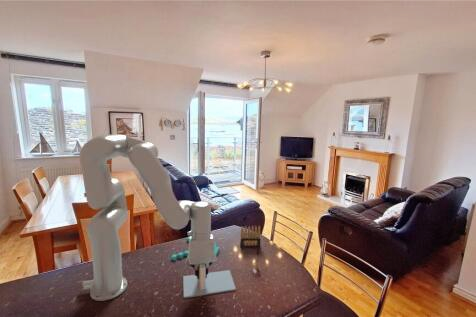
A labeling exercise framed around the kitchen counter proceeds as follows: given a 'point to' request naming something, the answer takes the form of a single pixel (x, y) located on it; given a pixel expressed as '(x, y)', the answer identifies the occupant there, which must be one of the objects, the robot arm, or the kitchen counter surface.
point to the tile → (202, 276)
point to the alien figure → (187, 252)
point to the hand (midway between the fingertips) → (201, 276)
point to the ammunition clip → (250, 238)
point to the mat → (208, 284)
